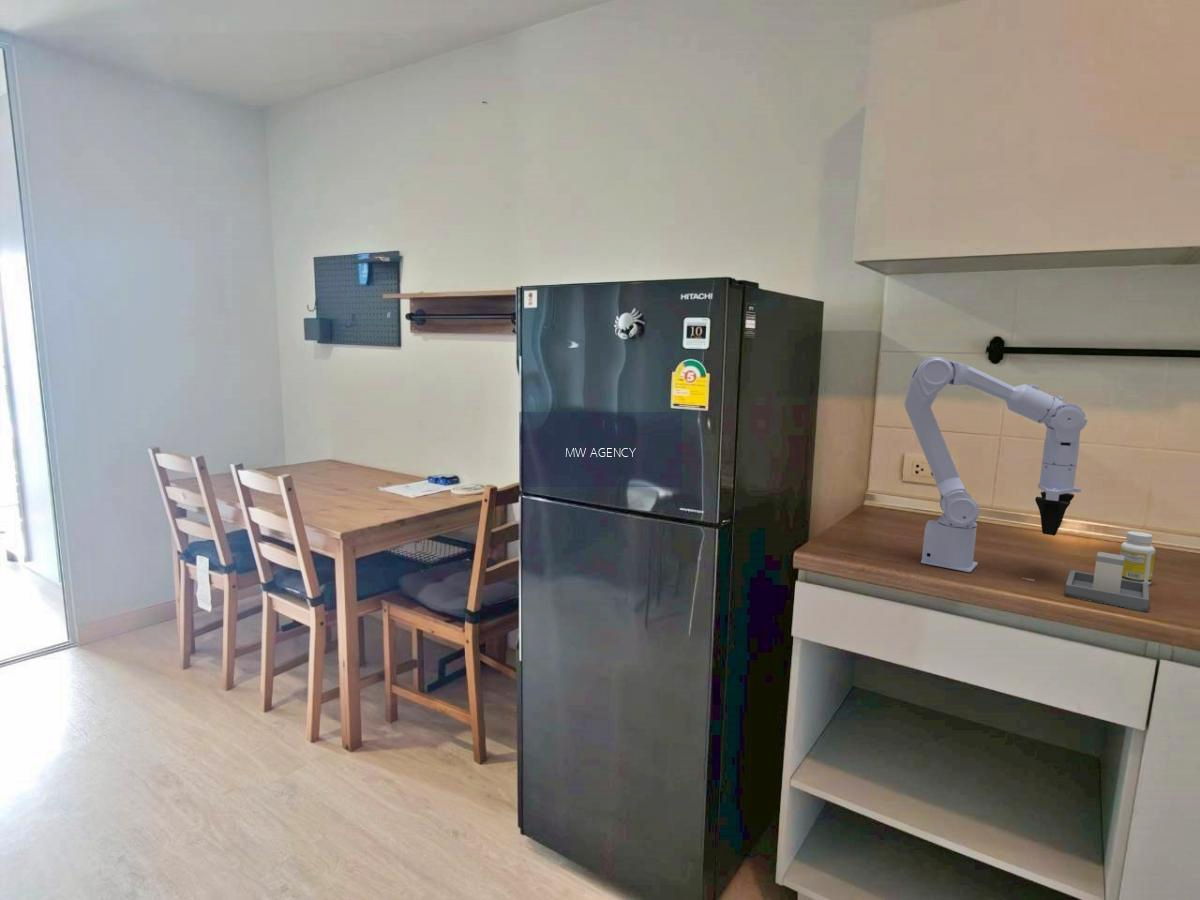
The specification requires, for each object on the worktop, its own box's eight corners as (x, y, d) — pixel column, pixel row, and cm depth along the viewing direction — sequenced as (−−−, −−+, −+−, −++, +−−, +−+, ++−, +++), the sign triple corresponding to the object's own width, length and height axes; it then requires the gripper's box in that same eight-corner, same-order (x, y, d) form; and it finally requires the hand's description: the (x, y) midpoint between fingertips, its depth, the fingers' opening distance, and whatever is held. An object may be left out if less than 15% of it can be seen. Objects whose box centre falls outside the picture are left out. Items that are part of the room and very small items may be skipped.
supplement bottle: (1135, 577, 138) (1142, 530, 137) (1158, 586, 133) (1165, 537, 131) (1109, 576, 138) (1116, 530, 136) (1131, 585, 132) (1138, 537, 131)
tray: (1064, 596, 125) (1065, 584, 125) (1069, 580, 134) (1070, 570, 134) (1147, 612, 118) (1149, 600, 117) (1146, 595, 127) (1148, 583, 127)
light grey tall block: (1091, 592, 126) (1096, 555, 125) (1093, 587, 129) (1097, 551, 128) (1118, 597, 123) (1124, 560, 122) (1119, 592, 126) (1124, 555, 125)
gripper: (1081, 470, 126) (1072, 541, 127) (1086, 462, 137) (1077, 528, 139) (1036, 465, 130) (1028, 534, 132) (1044, 458, 141) (1037, 522, 143)
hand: (1051, 530), depth 135 cm, fingers open, 7 cm apart
